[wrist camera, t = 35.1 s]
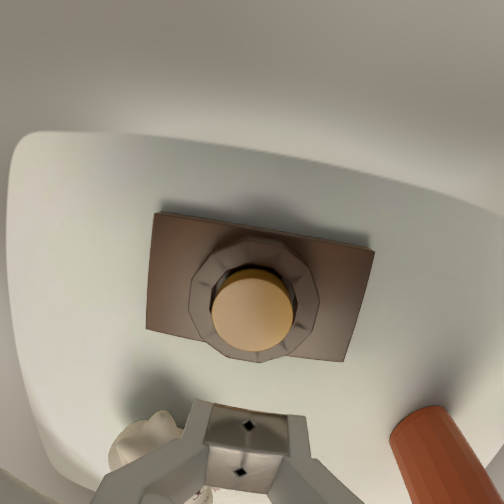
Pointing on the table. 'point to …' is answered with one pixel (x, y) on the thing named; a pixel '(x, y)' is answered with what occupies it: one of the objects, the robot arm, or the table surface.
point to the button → (252, 310)
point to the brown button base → (260, 257)
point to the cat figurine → (150, 446)
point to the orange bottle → (439, 461)
